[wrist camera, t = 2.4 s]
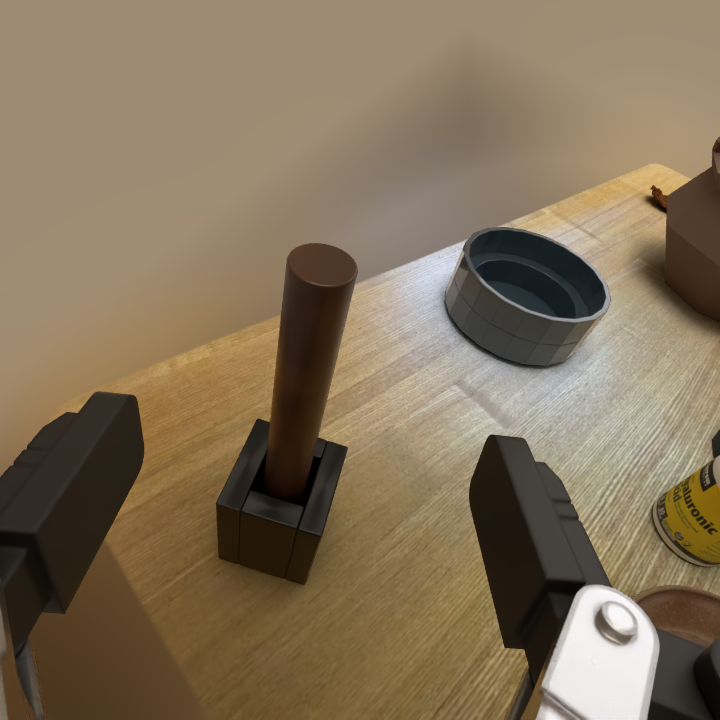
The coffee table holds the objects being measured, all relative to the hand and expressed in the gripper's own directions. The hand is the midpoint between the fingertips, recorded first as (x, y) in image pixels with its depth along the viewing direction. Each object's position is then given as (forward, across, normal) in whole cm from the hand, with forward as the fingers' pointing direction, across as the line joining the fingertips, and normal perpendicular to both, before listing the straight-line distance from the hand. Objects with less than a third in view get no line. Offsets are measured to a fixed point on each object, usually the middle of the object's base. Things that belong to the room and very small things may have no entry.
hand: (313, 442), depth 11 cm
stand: (+10, +2, +17) cm, 20 cm away
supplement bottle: (+14, -28, +18) cm, 36 cm away
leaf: (+70, -52, +6) cm, 88 cm away
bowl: (+35, -18, +12) cm, 41 cm away
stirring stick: (+10, +2, +17) cm, 20 cm away
